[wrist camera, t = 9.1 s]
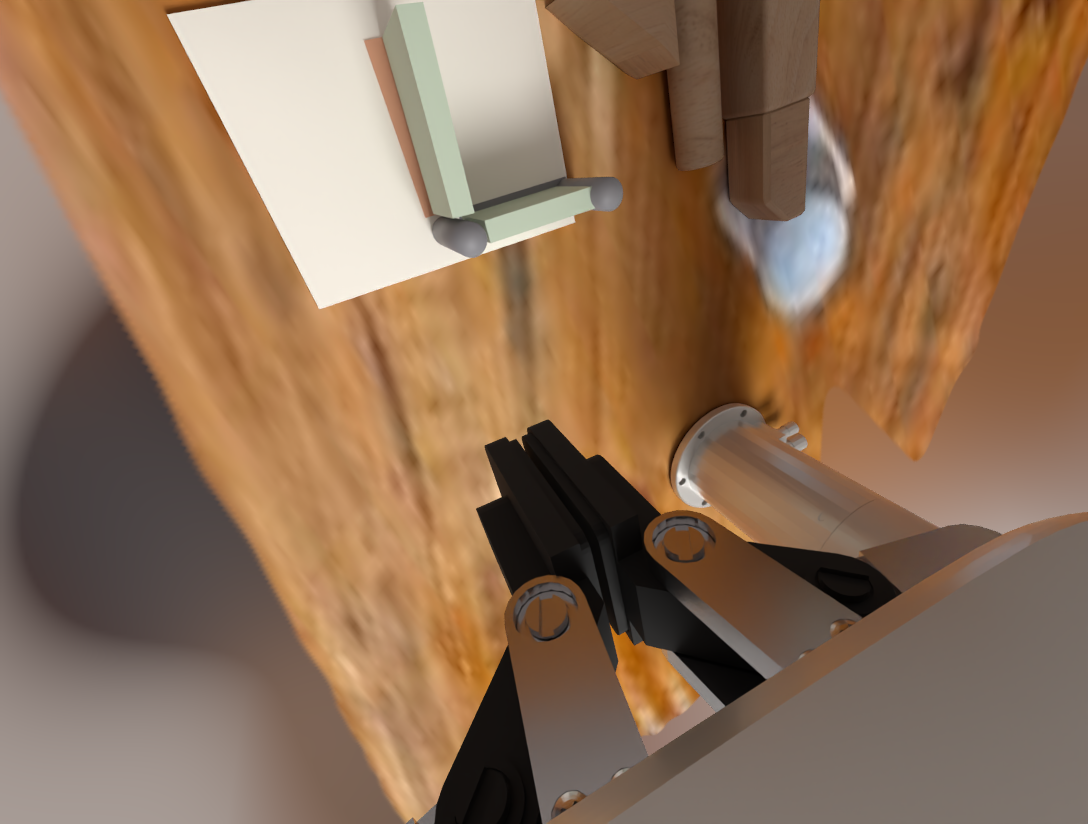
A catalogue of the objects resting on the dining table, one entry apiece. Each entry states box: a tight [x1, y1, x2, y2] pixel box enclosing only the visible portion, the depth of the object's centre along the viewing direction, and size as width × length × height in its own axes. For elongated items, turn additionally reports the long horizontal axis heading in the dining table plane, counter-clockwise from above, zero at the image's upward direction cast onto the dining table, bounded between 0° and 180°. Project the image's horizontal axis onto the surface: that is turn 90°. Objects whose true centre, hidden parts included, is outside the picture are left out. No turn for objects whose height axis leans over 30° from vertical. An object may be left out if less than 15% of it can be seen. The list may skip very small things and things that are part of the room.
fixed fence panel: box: [432, 177, 623, 258], centre depth 27 cm, size 10×2×6 cm, turn 104°
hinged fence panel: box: [382, 2, 474, 219], centre depth 23 cm, size 8×1×5 cm, turn 11°
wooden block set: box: [546, 0, 820, 221], centre depth 30 cm, size 17×6×18 cm
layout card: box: [167, 0, 575, 309], centre depth 26 cm, size 18×14×1 cm
